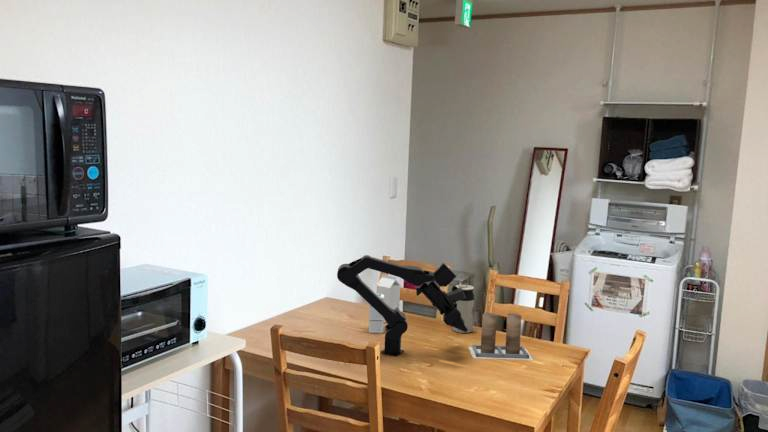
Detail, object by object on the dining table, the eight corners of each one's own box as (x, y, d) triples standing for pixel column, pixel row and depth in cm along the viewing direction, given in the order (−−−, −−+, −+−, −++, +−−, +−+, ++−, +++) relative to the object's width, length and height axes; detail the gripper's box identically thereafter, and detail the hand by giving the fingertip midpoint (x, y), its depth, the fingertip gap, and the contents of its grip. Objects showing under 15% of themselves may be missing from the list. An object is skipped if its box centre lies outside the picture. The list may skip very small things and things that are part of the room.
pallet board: (472, 360, 221) (473, 354, 221) (468, 349, 233) (468, 343, 233) (533, 362, 221) (533, 356, 221) (525, 351, 233) (525, 345, 233)
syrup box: (383, 333, 249) (384, 297, 247) (368, 332, 249) (369, 296, 247) (383, 329, 255) (384, 293, 253) (369, 328, 255) (370, 293, 253)
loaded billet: (517, 356, 223) (519, 318, 222) (503, 354, 226) (505, 315, 224) (521, 352, 228) (523, 314, 226) (507, 350, 230) (509, 312, 229)
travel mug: (449, 331, 255) (451, 287, 253) (456, 326, 262) (458, 283, 260) (468, 334, 251) (470, 290, 249) (475, 329, 258) (477, 286, 256)
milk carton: (389, 323, 263) (390, 278, 261) (375, 320, 267) (376, 275, 265) (399, 319, 268) (400, 275, 266) (385, 316, 273) (387, 273, 270)
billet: (488, 356, 223) (490, 317, 222) (477, 352, 227) (479, 314, 225) (497, 353, 226) (499, 315, 225) (486, 349, 230) (489, 312, 229)
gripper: (455, 286, 215) (486, 319, 216) (450, 274, 233) (478, 305, 235) (431, 308, 216) (461, 341, 217) (427, 295, 234) (455, 325, 236)
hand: (465, 327), depth 226 cm, fingers open, 9 cm apart
